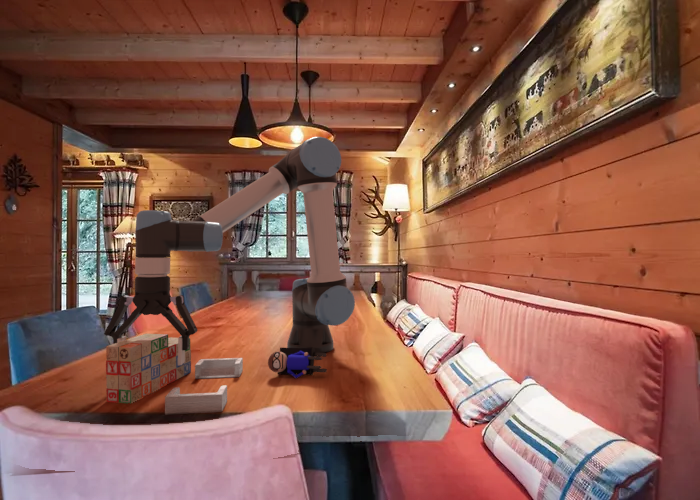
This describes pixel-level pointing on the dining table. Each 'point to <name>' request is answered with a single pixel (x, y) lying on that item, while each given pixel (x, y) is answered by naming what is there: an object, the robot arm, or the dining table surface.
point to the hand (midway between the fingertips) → (151, 364)
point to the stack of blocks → (143, 366)
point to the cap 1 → (195, 402)
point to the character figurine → (295, 361)
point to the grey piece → (218, 368)
